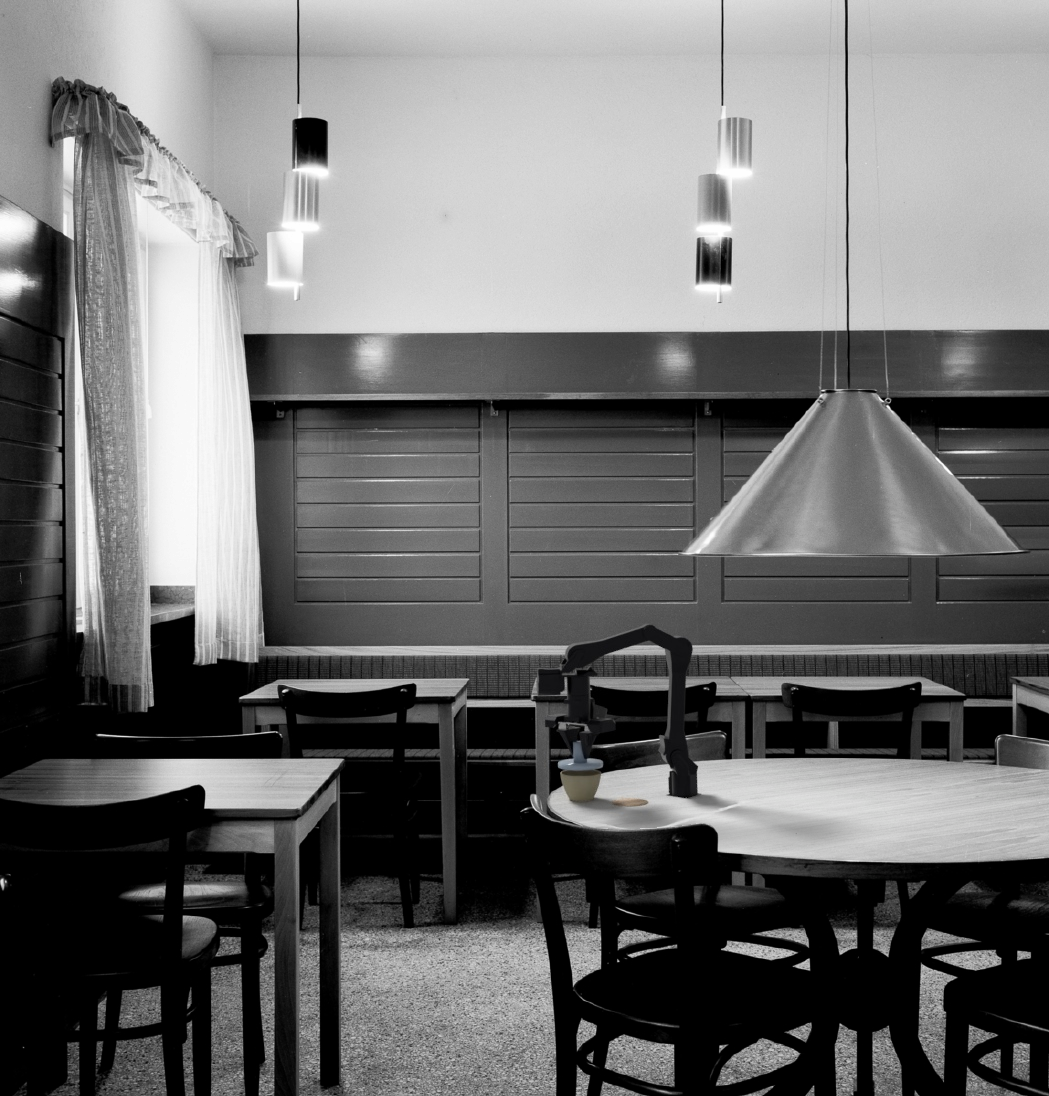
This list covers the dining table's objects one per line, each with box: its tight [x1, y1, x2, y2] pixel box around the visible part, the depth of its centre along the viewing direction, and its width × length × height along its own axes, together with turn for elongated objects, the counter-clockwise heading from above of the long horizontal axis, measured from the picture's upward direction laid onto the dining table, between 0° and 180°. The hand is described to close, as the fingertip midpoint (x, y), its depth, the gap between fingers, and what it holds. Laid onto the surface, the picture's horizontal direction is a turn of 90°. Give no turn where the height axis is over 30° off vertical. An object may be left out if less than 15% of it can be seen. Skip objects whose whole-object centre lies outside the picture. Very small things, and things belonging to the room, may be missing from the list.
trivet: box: [610, 797, 650, 808], centre depth 275 cm, size 9×9×1 cm
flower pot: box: [560, 769, 602, 802], centre depth 281 cm, size 10×10×7 cm
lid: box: [557, 740, 604, 771], centre depth 281 cm, size 11×11×6 cm
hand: (580, 758), depth 281 cm, fingers closed on lid, 3 cm apart
